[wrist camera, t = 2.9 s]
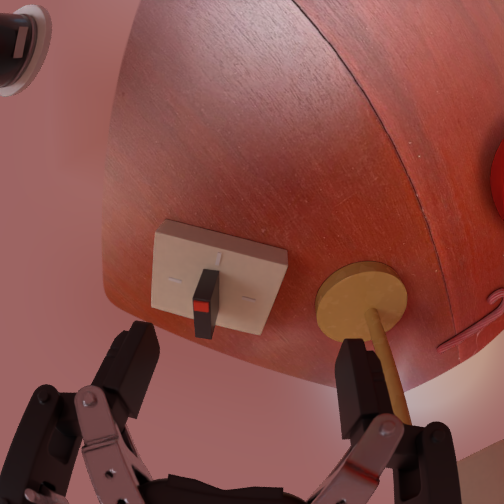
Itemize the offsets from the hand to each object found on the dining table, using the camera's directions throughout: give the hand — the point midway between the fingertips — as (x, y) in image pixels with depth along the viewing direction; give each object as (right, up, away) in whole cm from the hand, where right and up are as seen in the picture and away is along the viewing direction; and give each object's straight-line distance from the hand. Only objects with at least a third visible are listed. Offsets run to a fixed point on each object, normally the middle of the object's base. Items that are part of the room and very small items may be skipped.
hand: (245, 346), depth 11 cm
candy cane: (+34, -7, +22) cm, 41 cm away
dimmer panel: (-4, +2, +20) cm, 21 cm away
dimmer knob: (-4, 0, +18) cm, 18 cm away
